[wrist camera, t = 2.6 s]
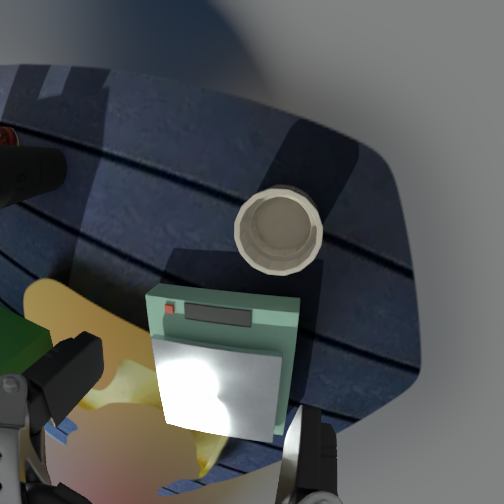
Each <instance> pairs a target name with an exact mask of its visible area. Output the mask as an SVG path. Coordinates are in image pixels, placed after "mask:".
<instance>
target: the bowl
mask: <svg viewBox="0 0 504 504" xmlns="http://www.w3.org/2000/svg"><path fill="white" fill-rule="evenodd" d="M322 236H323V226H322V222H321V218H320V215H319V212H318V209H317V206H316V204H315V202H314V201H313V200H312V198H311V197H310V196H309V195H308V194H307V193H306V192H305V191H303V190H301V189H299V188H297V187H295V186H292V185H280V184H277V185H274V186H271V187H268V188H265V189H263V190H261V191H259V192H258V193H256V194H254V195H253V196H252V197H251V198H250V199H249V200H248V201H247V202H245V203H244V204H243V205H242V207H241V209H240V211H239V213H238V215H237V218H236V220H235V228H234V238H235V242H236V244H237V247H238V249H239V252H240V254H241V256H242V257H243V258H244V259H245V260H246V261H247V262H248V263H249V264H250V265H251V266H252V267H253V268H255V269H257V270H259V271H261V272H263V273H266V274H269V275H281V276H285V275H288V274H292V273H295V272H298V271H301V270H302V269H303V268H305V267H306V266H307V265H308V264H310V263H311V262H312V261H313V260H314V259H315V257H316V255H317V253H318V251H319V249H320V247H321V245H322Z"/></svg>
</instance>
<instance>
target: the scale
mask: <svg viewBox="0 0 504 504" xmlns="http://www.w3.org/2000/svg"><path fill="white" fill-rule="evenodd" d="M146 304H147V312H148V320H149V327H150V334H151V337H152V336H153V335H154V334H159V335H164V336H169V337H175V338H180V339H186V340H192V341H198V342H205V343H211V344H218V345H225V346H232V347H240V348H247V349H256V350H265V351H274V352H283V359H282V368H281V378H280V387H279V395H278V404H277V412H276V420H275V428H274V434H278V435H283V432H284V425H285V419H286V412H287V406H288V399H289V392H290V385H291V377H292V370H293V362H294V354H295V346H296V338H297V329H298V320H299V310H300V298H293V297H282V296H271V295H260V294H250V293H240V292H230V291H221V290H212V289H203V288H194V287H186V286H178V285H170V284H162V283H159V284H157V285H156V286H155V287H154V288H153V289H152V290H150V291H149V292H148V293H147V294H146Z"/></svg>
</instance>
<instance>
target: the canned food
mask: <svg viewBox="0 0 504 504" xmlns="http://www.w3.org/2000/svg"><path fill="white" fill-rule="evenodd" d="M0 145H15V146H19V140H18V136H17V134H16V132H15V131H14V129H13V128H11V127H0Z"/></svg>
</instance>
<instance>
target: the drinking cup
mask: <svg viewBox="0 0 504 504" xmlns="http://www.w3.org/2000/svg"><path fill="white" fill-rule="evenodd" d="M65 175H66V161H65V158H64V155H63V154H62V152H61V151H59V150H58V149H54V148H43V147H30V146H15V145H0V209H3V208H5V207H8V206H10V205H13V204H15V203H18V202H21V201H23V200H26V199H29V198H32V197H34V196H37V195H40V194H43V193H46V192H49V191H52V190H55V189H57V188H59V187H60V186H61V184H62V183H63V181H64V179H65Z"/></svg>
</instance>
